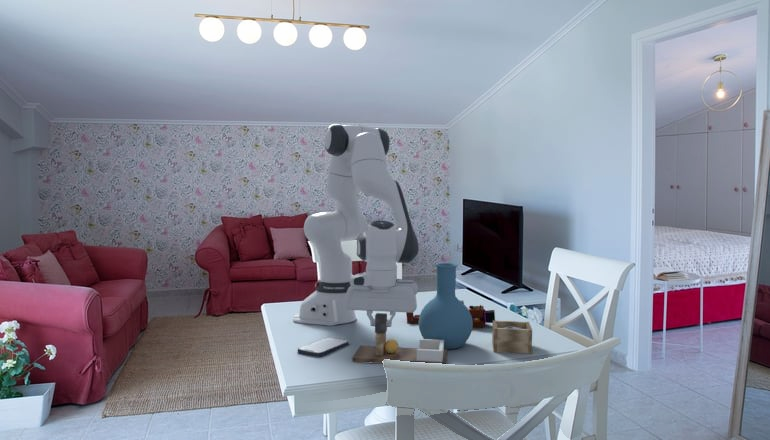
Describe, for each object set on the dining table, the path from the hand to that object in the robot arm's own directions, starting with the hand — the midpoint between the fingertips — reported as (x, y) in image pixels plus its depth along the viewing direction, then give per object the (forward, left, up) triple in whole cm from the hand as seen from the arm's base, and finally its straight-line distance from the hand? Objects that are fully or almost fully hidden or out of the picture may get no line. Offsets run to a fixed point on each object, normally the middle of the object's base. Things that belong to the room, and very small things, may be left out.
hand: (381, 326), depth 167 cm
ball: (+3, 0, -6) cm, 6 cm away
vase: (+18, +15, -9) cm, 25 cm away
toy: (+19, +41, -10) cm, 46 cm away
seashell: (+38, +15, -9) cm, 42 cm away
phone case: (-18, +5, -10) cm, 21 cm away
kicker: (0, 0, -8) cm, 8 cm away
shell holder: (+38, +15, -9) cm, 42 cm away
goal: (+14, 0, -8) cm, 16 cm away
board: (+6, 0, -9) cm, 11 cm away
